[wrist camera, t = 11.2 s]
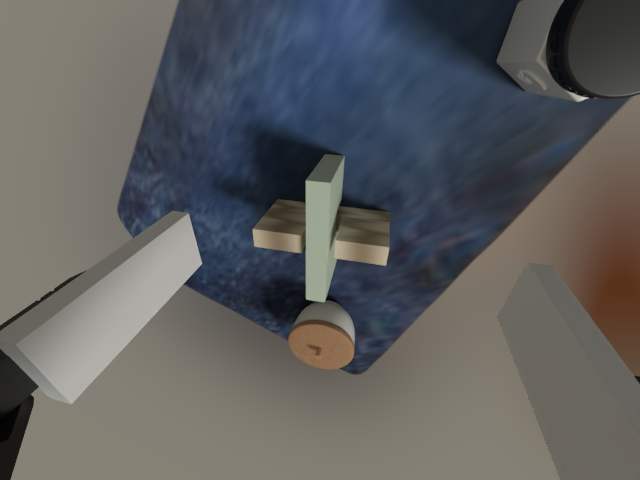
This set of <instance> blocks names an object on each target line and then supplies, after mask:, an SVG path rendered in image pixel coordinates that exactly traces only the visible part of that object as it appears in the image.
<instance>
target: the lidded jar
mask: <svg viewBox="0 0 640 480" xmlns="http://www.w3.org/2000/svg"><path fill="white" fill-rule="evenodd" d="M288 343H289V347H290V349H291V351H292V352H293V353H294V354H295V356H296V357H297V358H299V359H300V360H301V361H303V362H304V363H306V364H308V365H311V366H313V367H317V368H321V369H337V368H341V367H343V366H345V365H347V364H348V363H349V362H350V361H351V360H352V358H353V356H354V343H355V330H354V325H353V322H352V319H351V317H350V316H349V314H348V313H347V312H346V310H344V309H343V307H342V306H340V305H339V304H338V303H336V302H333V301H329V300H326V301H325V303H324V302H316V303H313V304H311V305H309V306H307V307H306V308H305V309H304V310H303V311H302V312H301V313H300V315H299V316H298V318H297V319H296V321H295V323H294V326H293V328H292V330H291V332H290V334H289V337H288Z"/></svg>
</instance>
